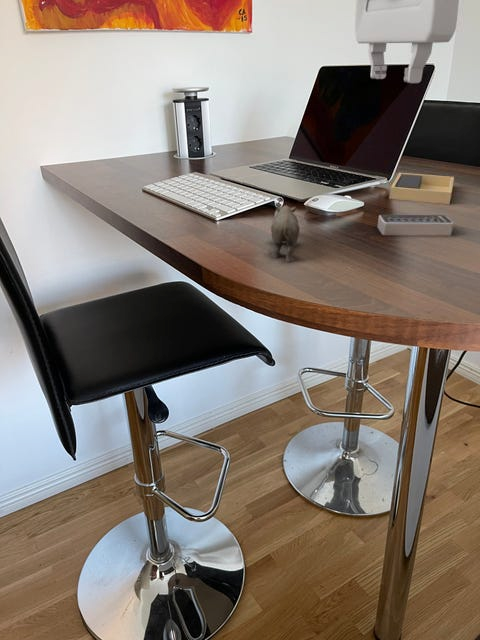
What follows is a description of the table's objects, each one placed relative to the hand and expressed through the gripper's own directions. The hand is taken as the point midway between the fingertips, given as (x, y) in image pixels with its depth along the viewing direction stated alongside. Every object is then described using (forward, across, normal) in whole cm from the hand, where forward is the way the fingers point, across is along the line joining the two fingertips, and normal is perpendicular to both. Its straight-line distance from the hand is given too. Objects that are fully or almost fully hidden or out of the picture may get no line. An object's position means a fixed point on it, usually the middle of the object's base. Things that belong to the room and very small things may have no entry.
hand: (393, 80), depth 70 cm
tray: (+23, +20, -21) cm, 37 cm away
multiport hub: (+23, -1, -6) cm, 24 cm away
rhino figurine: (+22, -2, +16) cm, 28 cm away
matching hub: (+22, +22, -19) cm, 36 cm away
